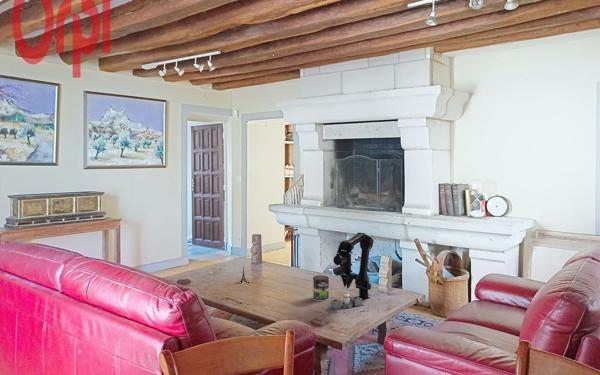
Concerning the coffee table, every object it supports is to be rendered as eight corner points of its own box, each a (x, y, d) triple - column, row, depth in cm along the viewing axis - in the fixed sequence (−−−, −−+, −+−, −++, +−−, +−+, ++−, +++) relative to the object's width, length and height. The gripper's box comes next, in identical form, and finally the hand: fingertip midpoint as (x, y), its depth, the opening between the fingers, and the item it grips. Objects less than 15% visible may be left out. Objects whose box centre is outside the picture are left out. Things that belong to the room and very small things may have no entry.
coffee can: (331, 300, 290) (331, 278, 289) (315, 302, 287) (315, 280, 286) (326, 295, 300) (325, 274, 299) (311, 297, 297) (310, 276, 296)
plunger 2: (353, 303, 281) (353, 296, 281) (357, 303, 283) (357, 296, 282) (355, 305, 279) (355, 298, 278) (360, 304, 280) (360, 297, 279)
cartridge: (342, 305, 279) (342, 294, 279) (347, 304, 280) (347, 293, 280) (345, 307, 276) (345, 296, 275) (350, 306, 277) (350, 295, 277)
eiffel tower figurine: (242, 287, 324) (241, 268, 323) (231, 284, 330) (231, 266, 329) (255, 282, 336) (255, 264, 335) (245, 280, 342) (245, 262, 341)
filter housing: (327, 306, 278) (327, 300, 278) (358, 302, 286) (358, 295, 286) (333, 311, 270) (333, 304, 270) (365, 306, 278) (365, 299, 278)
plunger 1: (332, 306, 276) (332, 299, 276) (337, 306, 277) (337, 299, 277) (334, 308, 273) (334, 301, 273) (339, 307, 275) (339, 300, 274)
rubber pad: (325, 311, 270) (325, 310, 270) (334, 310, 272) (334, 309, 272) (329, 314, 265) (329, 313, 265) (338, 313, 267) (338, 312, 267)
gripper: (327, 260, 282) (327, 284, 283) (341, 266, 265) (341, 293, 266) (343, 258, 286) (343, 282, 287) (358, 264, 269) (358, 290, 270)
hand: (346, 287), depth 277 cm, fingers open, 4 cm apart
